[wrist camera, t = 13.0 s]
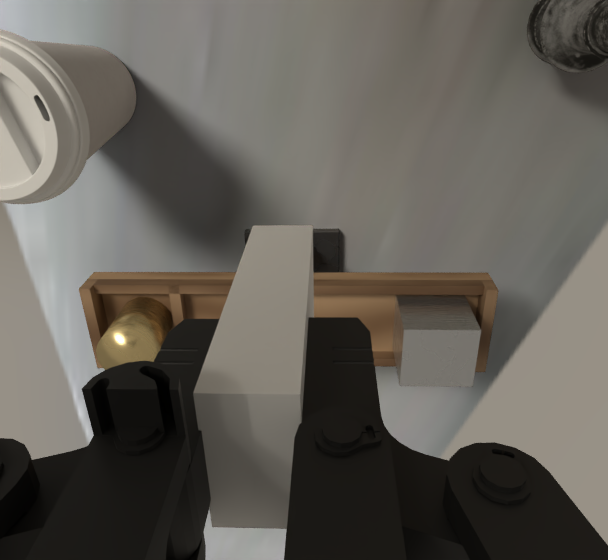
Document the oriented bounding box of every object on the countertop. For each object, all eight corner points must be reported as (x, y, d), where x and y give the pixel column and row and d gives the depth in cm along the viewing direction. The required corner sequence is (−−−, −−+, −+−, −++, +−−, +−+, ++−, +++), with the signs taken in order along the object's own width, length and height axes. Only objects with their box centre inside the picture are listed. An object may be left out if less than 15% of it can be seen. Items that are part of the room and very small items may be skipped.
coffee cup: (158, 158, 43) (82, 223, 30) (41, 146, 43) (-87, 206, 30) (153, 29, 39) (62, 38, 26) (24, 16, 39) (-135, 18, 26)
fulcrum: (245, 229, 46) (231, 268, 39) (338, 228, 45) (340, 268, 38) (252, 318, 50) (240, 369, 43) (337, 319, 49) (339, 369, 42)
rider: (395, 293, 39) (403, 329, 35) (464, 294, 39) (481, 330, 35) (392, 345, 41) (399, 385, 37) (457, 346, 41) (472, 386, 37)
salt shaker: (575, -44, 36) (681, -69, 25) (625, 20, 38) (744, 23, 27) (505, 27, 38) (575, 32, 27) (555, 85, 40) (640, 112, 29)
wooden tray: (94, 272, 41) (78, 288, 39) (487, 272, 40) (498, 290, 37) (110, 347, 44) (97, 367, 42) (476, 350, 43) (485, 371, 40)
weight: (117, 296, 41) (90, 331, 36) (168, 296, 40) (148, 331, 36) (126, 340, 42) (102, 379, 38) (175, 341, 42) (157, 379, 38)
